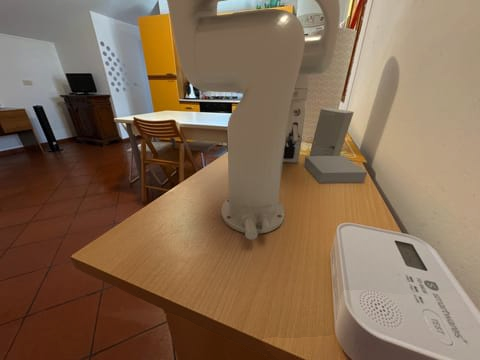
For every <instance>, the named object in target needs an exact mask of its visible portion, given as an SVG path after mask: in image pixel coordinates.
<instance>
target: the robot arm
mask: <svg viewBox="0 0 480 360" xmlns="http://www.w3.org/2000/svg"><path fill="white" fill-rule="evenodd" d="M225 1H227V0H166V2H167V3H166V4H167V6H168V7H167V8H168V13H169V17H170V23H171V28H172V32H173V37H174V42H175V47H176V52H177V57H178V60H179V64H180V67H181V70H182V73H183V75H184V77H185V79H186V80H187V81H188V83H189V84H190V85H191V86H192V87H194V88H195V89H197V90H200V91H203V92H210V93H211V92H213V93H235V94H241V95H242V96H241V98H240V101H239V102H238V104H237V105H236V106H235V108H234V109H233V110H232V112H231V114H230V116H229V118H228V121H227V122H228V123H227V126H226V127H227V129H226V131H227V171H228V172H227V176H228V177H227V178H228V181H227V182H228V198H226V199H225V200H224V201H223V203H222V204H221V209H220V211H221V212H220V213H221V218H222V219H223V222H224V223H225V224H226V225H227V226H228V227H229V228H231V229H233V230H236V231H237V232H240V233H244V234H245V235H244V236H245V238H246V239H248V240H255V239H256V238H258V235H259V234H265V233H270V232H271V231H274V230H275V229H277V228H278V227H280V225H282V223H283V222H284V220H285V213H286V212H285V208H284V206H283V204H282V202H280V200H279V196H280V195H279V194H280V187H281V180H282V170H283V163H284V162H283V158H284V159H293V158H294V151H295V146H296V142H297V141H298V137H303V131H304V125H305V114H306V102H307V99H308V95H309V88H310V82H311V81H310V80H311V76H312V75H321V74H323V73H325V72H327V70H328V69H329V68H330V65H331V63H332V61H333V58H334V52H335V48H336V42H337V37H338V31H339V25H340V20H341V18H340V17H341V10H340V9H341V8H340V0H314V2H316V3H317V5H318V6H319V9H320V11H321V12H322V17H323V31H322V34H308V35H306V34H305V29H304V27H303V23H302V22H301V20H300V19H299V18H298V16H296V15H295V13H292V12H289V11H288V10H284V9H277V8H264V9H255V10H254V9H253V10H246V11H244V10H243V11H238V12H235V11H234V12H232V13H226V14H218V4H219V2H225ZM289 134H292V136H289ZM289 138H292V139H291V140H290V141H289ZM285 140H286V146H285Z"/></svg>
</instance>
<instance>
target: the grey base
mask: <svg viewBox="0 0 480 360" xmlns="http://www.w3.org/2000/svg"><path fill="white" fill-rule="evenodd" d="M303 166H304V167H305V168H306V169H307V171H308V172H310V174H311V175H312V176H313V177H314V178H315V180H316V181H317V182H318V183H319V184H341V183H343V184H348V183H349V184H350V183H352V184H354V183H355V184H356V183H365V180H366V177H367V175H368V171H366V169H363V168H362V167H360V166H359V165H357V164H356V163H355V162H353V161H351V160H350V159H349V158H347V157H345V156H344V155H340V156H312V155H306V156H305V157H304V163H303Z"/></svg>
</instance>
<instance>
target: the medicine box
mask: <svg viewBox="0 0 480 360" xmlns="http://www.w3.org/2000/svg"><path fill="white" fill-rule="evenodd" d="M289 136H292V134H289ZM291 139H292V138H289V141H290V140H291ZM302 141H303V136H301V137H298V141H297V142H296V146H295V151H294V158H293V159H284V158H283V163H295V164H298V163H299V160H300V152H301V147H302ZM285 146H286V140H285Z"/></svg>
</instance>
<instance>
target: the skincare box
mask: <svg viewBox="0 0 480 360" xmlns="http://www.w3.org/2000/svg"><path fill="white" fill-rule="evenodd" d="M354 113H355V112H354V111H350V110H344V109H341V108H340V109H339V108H334V107H333V108H332V107H329V108H324V107H322V108H321V109H320V111H319V115H318V116H319V117H318V118H317V119H318V120H317V124H316V127H315V131H314V134H313V139H312V142H311V147H310V150H309V156H341V152H342V149H343V147H344V144H345V140H346V137H347V134H348V131H349V128H350V125H351V122H352V120H353V116H354Z"/></svg>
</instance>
